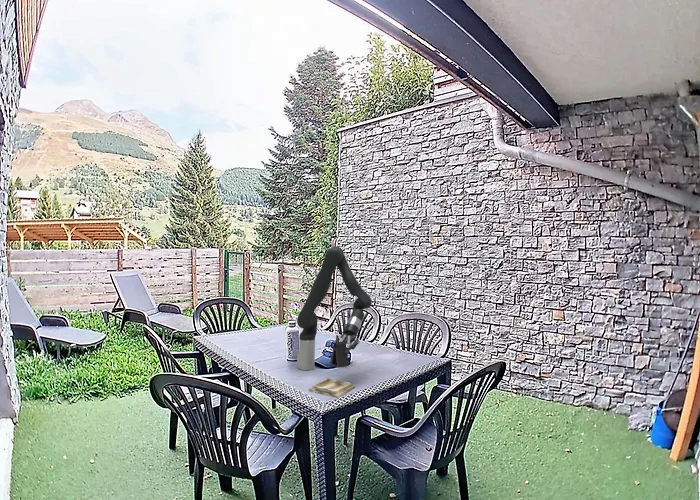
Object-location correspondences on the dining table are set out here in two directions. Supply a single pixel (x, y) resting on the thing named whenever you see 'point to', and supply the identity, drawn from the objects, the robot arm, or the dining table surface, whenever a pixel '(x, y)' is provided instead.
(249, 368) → the dining table surface
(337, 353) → the black tent sign
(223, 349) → the dining table surface
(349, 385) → the spacer board
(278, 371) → the dining table surface
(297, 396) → the dining table surface
